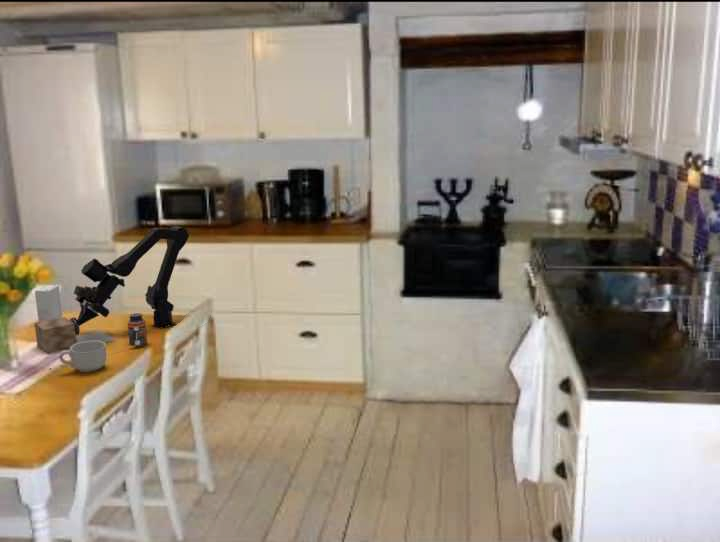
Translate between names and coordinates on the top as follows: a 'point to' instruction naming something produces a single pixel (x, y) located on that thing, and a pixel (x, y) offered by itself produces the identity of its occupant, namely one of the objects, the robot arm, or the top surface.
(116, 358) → the top surface
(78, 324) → the plunger
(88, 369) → the teacup
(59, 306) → the skincare box
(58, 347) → the press housing
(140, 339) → the supplement bottle
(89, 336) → the slate board
